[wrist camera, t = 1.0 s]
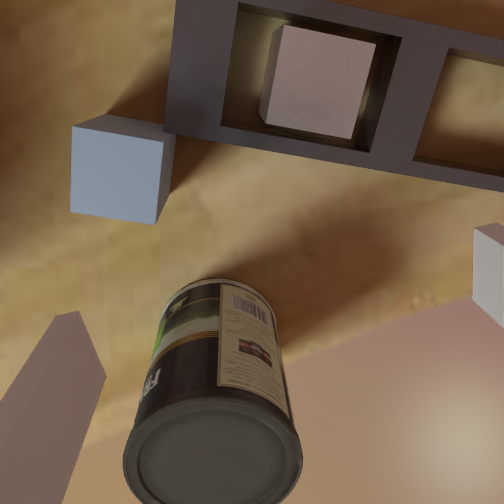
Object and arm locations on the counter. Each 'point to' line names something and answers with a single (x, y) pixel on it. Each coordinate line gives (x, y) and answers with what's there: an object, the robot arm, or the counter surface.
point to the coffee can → (214, 404)
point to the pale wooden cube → (314, 81)
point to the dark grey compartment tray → (378, 103)
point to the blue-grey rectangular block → (121, 168)
